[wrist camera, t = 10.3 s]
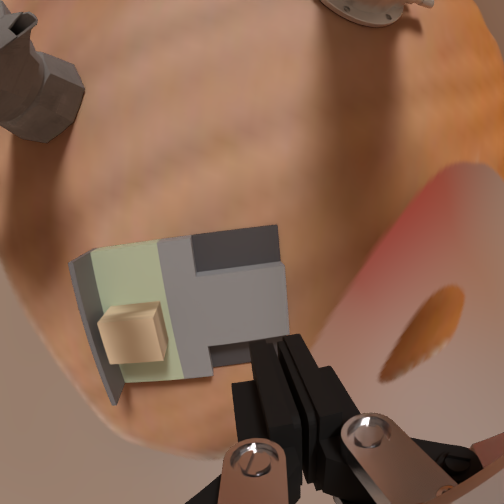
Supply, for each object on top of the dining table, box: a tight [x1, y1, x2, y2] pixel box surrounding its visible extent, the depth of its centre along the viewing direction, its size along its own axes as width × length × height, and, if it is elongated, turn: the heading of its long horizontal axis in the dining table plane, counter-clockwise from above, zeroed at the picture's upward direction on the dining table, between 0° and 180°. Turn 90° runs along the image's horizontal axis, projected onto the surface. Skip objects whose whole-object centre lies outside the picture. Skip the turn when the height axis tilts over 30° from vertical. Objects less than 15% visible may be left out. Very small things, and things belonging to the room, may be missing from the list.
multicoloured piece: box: [68, 225, 289, 405], centre depth 27 cm, size 18×14×6 cm
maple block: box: [97, 301, 169, 364], centre depth 26 cm, size 5×4×4 cm
